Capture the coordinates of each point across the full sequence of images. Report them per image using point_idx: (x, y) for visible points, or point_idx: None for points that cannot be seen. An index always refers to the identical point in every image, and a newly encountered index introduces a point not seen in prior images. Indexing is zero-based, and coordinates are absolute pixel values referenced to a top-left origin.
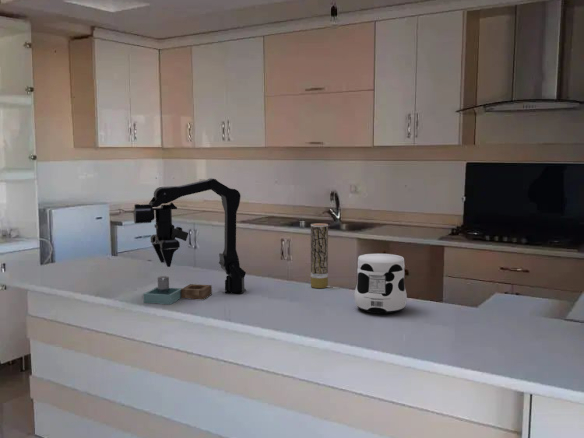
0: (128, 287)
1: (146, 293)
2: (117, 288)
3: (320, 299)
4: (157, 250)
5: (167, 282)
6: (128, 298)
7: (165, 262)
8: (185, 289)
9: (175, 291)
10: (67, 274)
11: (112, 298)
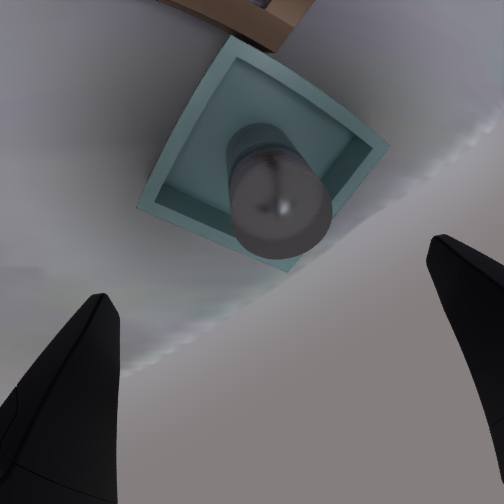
0: (3, 292)
1: (287, 260)
2: (22, 321)
3: None
4: (106, 485)
5: (312, 171)
6: (172, 295)
7: (453, 315)
8: (294, 24)
9: (310, 97)
10: None
11: (162, 337)
